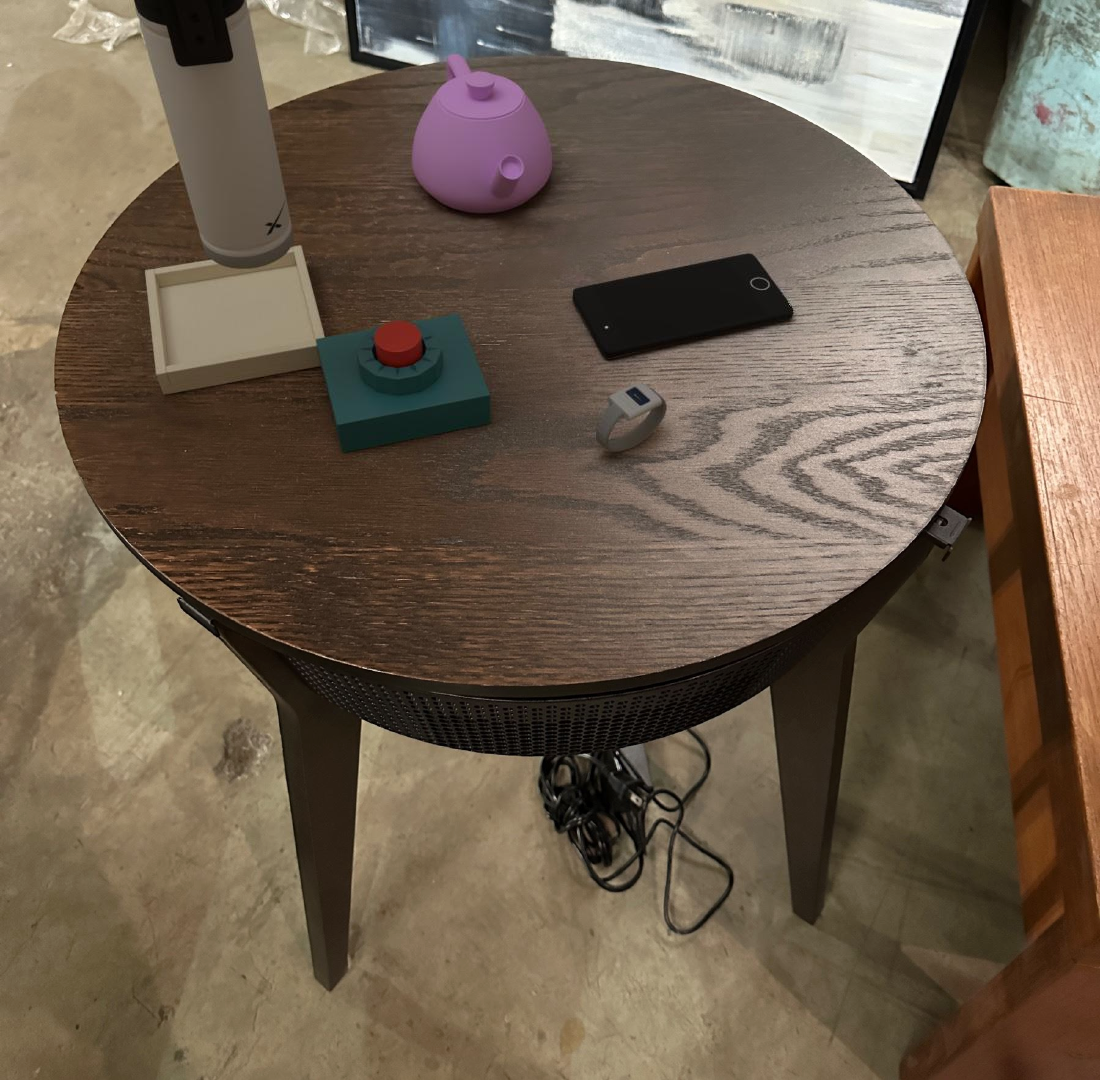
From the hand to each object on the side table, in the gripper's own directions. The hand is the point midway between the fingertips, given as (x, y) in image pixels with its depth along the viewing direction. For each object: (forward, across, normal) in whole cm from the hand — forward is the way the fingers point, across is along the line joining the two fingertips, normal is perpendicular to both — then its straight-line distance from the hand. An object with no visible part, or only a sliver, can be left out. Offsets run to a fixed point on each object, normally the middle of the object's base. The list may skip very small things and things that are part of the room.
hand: (200, 29), depth 61 cm
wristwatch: (+30, +12, +25) cm, 41 cm away
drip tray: (+30, -9, -3) cm, 31 cm away
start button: (+25, +3, +9) cm, 27 cm away
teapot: (+30, -24, +23) cm, 45 cm away
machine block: (+30, +3, +9) cm, 31 cm away
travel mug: (+15, 0, 0) cm, 15 cm away
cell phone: (+29, -2, +35) cm, 46 cm away
